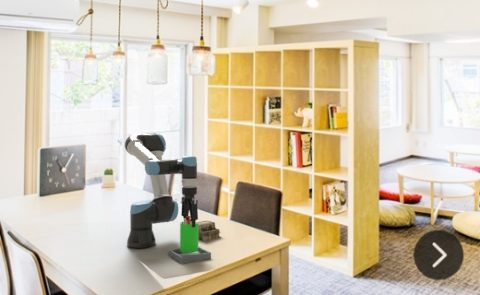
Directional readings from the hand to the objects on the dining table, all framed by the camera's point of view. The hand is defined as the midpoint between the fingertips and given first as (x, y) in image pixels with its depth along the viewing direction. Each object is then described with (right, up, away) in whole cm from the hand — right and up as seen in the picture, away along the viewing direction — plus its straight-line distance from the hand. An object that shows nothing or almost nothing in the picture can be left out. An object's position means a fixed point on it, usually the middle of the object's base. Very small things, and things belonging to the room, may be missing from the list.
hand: (189, 231), depth 207 cm
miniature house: (+5, -13, +29) cm, 32 cm away
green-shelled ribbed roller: (0, -10, 0) cm, 10 cm away
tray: (0, -13, 0) cm, 13 cm away
